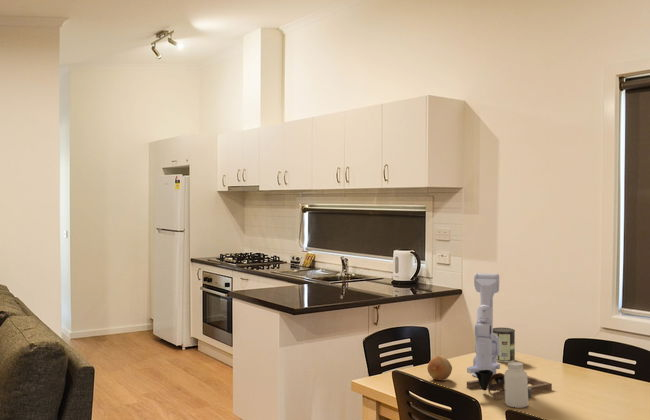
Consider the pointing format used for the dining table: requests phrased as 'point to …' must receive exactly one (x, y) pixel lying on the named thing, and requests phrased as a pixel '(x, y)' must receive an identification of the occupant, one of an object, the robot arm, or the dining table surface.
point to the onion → (439, 368)
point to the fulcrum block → (529, 392)
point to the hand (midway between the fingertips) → (483, 389)
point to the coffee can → (506, 344)
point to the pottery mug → (499, 380)
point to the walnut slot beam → (537, 386)
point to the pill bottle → (516, 385)
